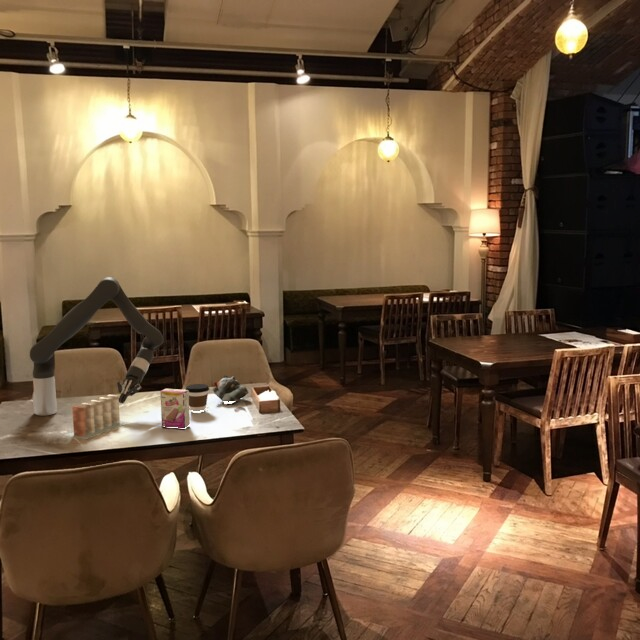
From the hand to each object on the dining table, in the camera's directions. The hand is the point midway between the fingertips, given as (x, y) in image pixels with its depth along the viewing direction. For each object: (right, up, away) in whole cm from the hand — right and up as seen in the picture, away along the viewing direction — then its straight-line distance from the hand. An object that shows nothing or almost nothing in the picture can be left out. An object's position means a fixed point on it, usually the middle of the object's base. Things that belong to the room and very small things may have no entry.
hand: (120, 402), depth 311 cm
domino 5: (-2, -8, -3) cm, 9 cm away
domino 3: (-6, -10, -12) cm, 17 cm away
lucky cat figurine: (+45, -4, +32) cm, 55 cm away
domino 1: (-11, -11, -21) cm, 26 cm away
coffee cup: (+32, -6, +15) cm, 35 cm away
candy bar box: (+26, -10, -9) cm, 29 cm away
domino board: (-6, -10, -12) cm, 17 cm away
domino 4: (-4, -9, -7) cm, 12 cm away
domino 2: (-9, -10, -16) cm, 21 cm away
